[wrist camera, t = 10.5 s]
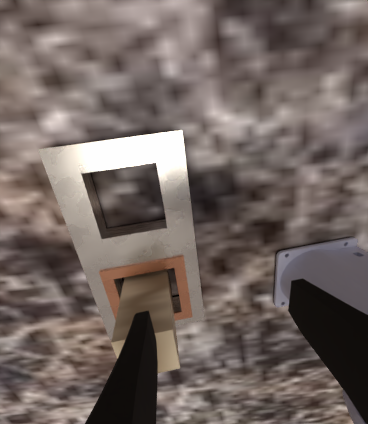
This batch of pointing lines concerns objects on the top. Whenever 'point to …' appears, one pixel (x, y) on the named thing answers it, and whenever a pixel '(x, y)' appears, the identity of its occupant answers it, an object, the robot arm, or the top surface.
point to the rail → (130, 234)
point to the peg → (159, 312)
